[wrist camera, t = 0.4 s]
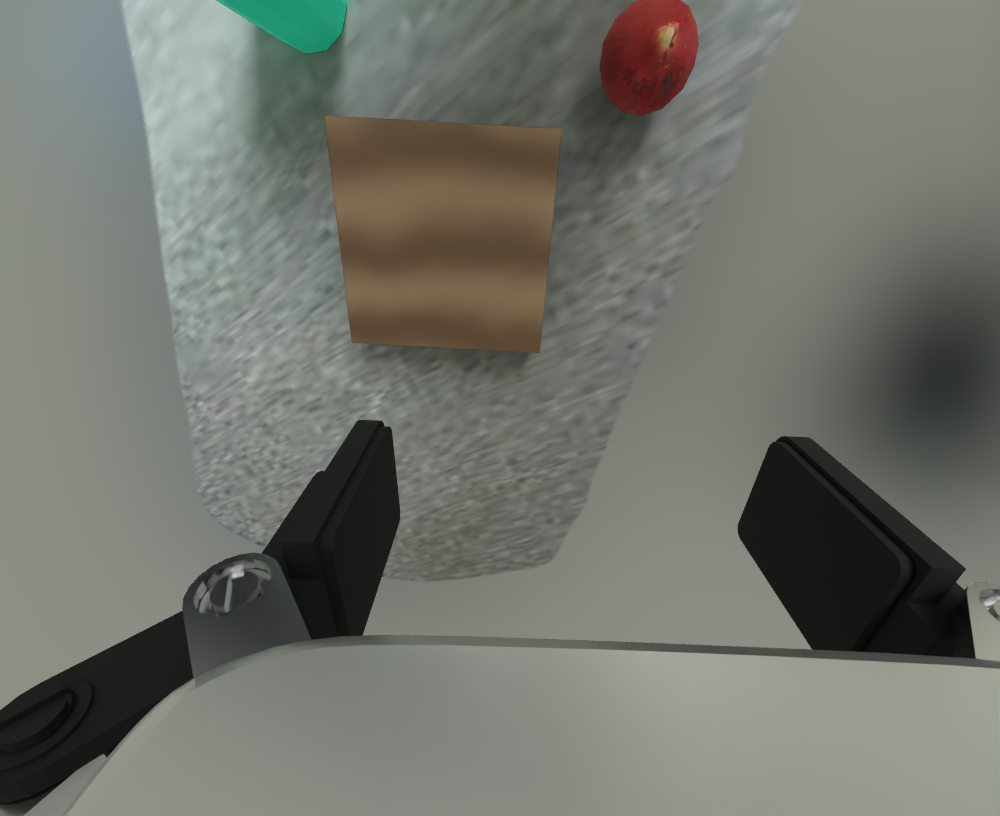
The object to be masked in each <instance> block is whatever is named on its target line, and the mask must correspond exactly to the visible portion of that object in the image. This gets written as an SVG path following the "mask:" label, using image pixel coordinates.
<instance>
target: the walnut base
mask: <svg viewBox="0 0 1000 816" xmlns="http://www.w3.org/2000/svg"><path fill="white" fill-rule="evenodd" d="M324 118H325V126H326V135H327V143H328V151H329V159H330V167H331V175H332V184H333V192H334V200H335V208H336V216H337V224H338V232H339V241H340V249H341V257H342V265H343V273H344V281H345V289H346V298H347V306H348V314H349V322H350V330H351V338H352V343H366V344H384V345H403V346H422V347H440V348H459V349H477V350H496V351H515V352H533V353H540V344H541V334H542V324H543V314H544V304H545V294H546V283H547V273H548V263H549V253H550V243H551V233H552V223H553V213H554V203H555V193H556V183H557V172H558V162H559V152H560V142H561V132H562V129H554V128H537V127H519V126H501V125H483V124H465V123H448V122H430V121H412V120H394V119H377V118H359V117H341V116H324Z"/></svg>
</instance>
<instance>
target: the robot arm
mask: <svg viewBox="0 0 1000 816" xmlns="http://www.w3.org/2000/svg"><path fill="white" fill-rule="evenodd" d="M399 520H400V505H399V495H398V486H397V476H396V466H395V457H394V447H393V437H392V430H391V428H390V427H384V423H383V422H382V421H374V420H358V421H357V422H356V424H355V425H354V427H353V428H352V430H351V431H350V433H349V434H348V436H347V438H346V439H345V441H344V442H343V444H342V445H341V447H340V448H339V450H338V451H337V453H336V455H335V456H334V458H333V459H332V461H331V462H330V464H329V465H328V467H327V468H326V470H325V471H320V472H317V473H316V474H315V476H314V477H313V478H312V480H311V481H310V483H309V484H308V486H307V487H306V488H305V490H304V491H303V493H302V494H301V496H300V497H299V499H298V500H297V502H296V503H295V505H294V506H293V508H292V509H291V511H290V512H289V514H288V515H287V517H286V518H285V520H284V521H283V523H282V524H281V526H280V527H279V529H278V530H277V532H276V533H275V535H274V536H273V537H272V539H271V540H270V542H269V543H268V545H267V546H266V548H265V549H264V551H263V552H262V554H261V553H247V554H240V555H237V556H234V557H230V558H227V559H225V560H223V561H221V562H219V563H217V564H215V565H213V566H211V567H210V568H209V569H207V570H206V571H205V572H203V573H202V574H201V575H199V576H198V577H197V579H196V580H195V581H194V582H193V583H192V584H191V585H190V586H189V588H188V590H187V592H186V594H185V596H184V598H183V606H182V611H181V612H179V613H177V614H175V615H173V616H171V617H169V618H168V619H165V620H163V621H162V622H160V623H158V624H156V625H154V626H152V627H150V628H148V629H146V630H144V631H142V632H140V633H138V634H136V635H134V636H132V637H130V638H128V639H126V640H124V641H122V642H120V643H118V644H116V645H114V646H112V647H110V648H108V649H107V650H104V651H102V652H100V653H98V654H97V655H95V656H93V657H91V658H89V659H87V660H85V661H83V662H81V663H79V664H77V665H75V666H73V667H71V668H69V669H67V670H65V671H63V672H61V673H59V674H57V675H55V676H53V677H51V678H49V679H47V680H45V681H44V682H41V683H40V684H38V685H36V686H34V687H33V688H31V689H30V690H28V691H26V692H25V693H23V694H21V695H19V696H18V697H17V698H15V699H14V700H13V701H12V702H10V703H9V704H8V705H6V706H5V707H4V708H3V709H1V710H0V816H1000V584H995V583H990V582H974V583H973V584H971V585H969V586H968V587H967V588H966V589H965V590H964V589H963V588H961V587H960V586H959V585H958V584H957V583H956V581H957V580H958V578H959V577H960V576H961V575H962V573H963V572H964V571H965V570H966V568H964V567H963V566H962V565H961V564H960V563H958V562H957V561H956V560H955V559H954V558H952V557H951V556H950V555H949V554H948V553H946V552H945V551H944V550H943V549H942V548H941V547H939V546H938V545H937V544H936V543H935V542H933V541H932V540H931V539H930V538H929V537H927V536H926V535H925V534H924V533H923V532H922V531H920V530H919V529H918V528H917V527H916V526H914V525H913V524H912V523H911V522H910V521H909V520H907V519H906V518H905V517H904V516H903V515H901V514H900V513H899V512H898V511H897V510H895V509H894V508H893V507H892V506H891V505H890V504H888V503H887V502H886V501H885V500H883V499H882V498H881V497H880V496H879V495H877V494H876V493H875V492H874V491H873V490H872V489H870V488H869V487H868V486H867V485H866V484H864V483H863V482H862V481H861V480H860V479H858V478H857V477H856V476H855V475H854V474H853V473H851V472H850V471H849V470H848V469H847V468H846V467H844V466H843V465H842V464H841V463H839V462H838V461H837V460H836V459H835V458H834V457H832V456H831V455H830V454H829V453H828V452H827V451H825V450H824V449H823V448H822V447H820V446H819V445H818V444H817V443H816V442H815V441H813V440H812V439H810V438H807V437H787V436H783V437H780V438H779V439H778V440H777V441H776V442H773V443H772V444H771V445H770V446H769V448H768V450H767V453H766V456H765V458H764V461H763V463H762V466H761V468H760V471H759V473H758V476H757V478H756V481H755V483H754V486H753V488H752V491H751V493H750V496H749V498H748V501H747V503H746V506H745V508H744V511H743V513H742V516H741V518H740V521H739V524H738V534H739V537H740V539H741V541H742V542H743V544H744V545H745V547H746V548H747V550H748V551H749V553H750V555H751V556H752V558H753V559H754V561H755V562H756V564H757V565H758V567H759V568H760V570H761V571H762V573H763V575H764V576H765V578H766V579H767V581H768V582H769V584H770V585H771V587H772V588H773V590H774V591H775V593H776V594H777V596H778V598H779V599H780V601H781V602H782V604H783V605H784V607H785V608H786V610H787V611H788V613H789V614H790V616H791V617H792V619H793V621H794V622H795V623H796V625H797V627H798V628H799V629H800V631H801V633H802V634H803V636H804V638H805V639H806V641H807V642H808V644H809V645H810V646H811V648H812V650H808V649H785V648H763V647H762V648H761V647H740V646H716V645H715V646H714V645H691V644H666V643H641V642H616V641H587V640H559V639H558V640H557V639H529V638H501V637H472V636H471V637H470V636H417V635H414V636H413V635H412V636H411V635H369V636H362V635H363V632H364V629H365V626H366V623H367V620H368V617H369V614H370V610H371V608H372V605H373V602H374V599H375V596H376V593H377V589H378V586H379V583H380V580H381V577H382V574H383V571H384V568H385V565H386V562H387V559H388V556H389V553H390V550H391V547H392V544H393V541H394V538H395V534H396V531H397V528H398V525H399Z"/></svg>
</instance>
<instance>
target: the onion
mask: <svg viewBox="0 0 1000 816" xmlns="http://www.w3.org/2000/svg"><path fill="white" fill-rule="evenodd" d="M698 44H699V43H698V35H697V27H696V22H695V20H694V18H693V16H692V13H691V11H690V9H689V7H688V5H686V4H685V3H683V2H682V1H680V0H638V1H636V2H634V3H632V4H631V5H630V6H629V7H628V8H627V9H626V10H625V11H624V12H623V13H622V14H621V15H620V16H619V17H618V18H617V19H616V20H615V21H614V23H613V25H612V27H611V29H610V30H609V32H608V34H607V36H606V38H605V40H604V42H603V48H602V55H601V61H600V72H601V80H602V86H603V88H604V90H605V92H606V94H607V96H608V98H609V100H610V102H612V103H613V104H614V105H615V106H616V107H618V108H619V109H620V110H621V111H623V112H627V113H631V114H636V115H645V114H648V113H651V112H654V111H657V110H660V109H662V108H663V107H664V106H665V105H666V104H668V103H669V102H670V101H671V100H672V99H673V98H674V97H675V96H676V95H677V94H678V93H679V92H680V91H681V90H682V89H683V87H684V85H685V83H686V81H687V79H688V77H689V75H690V73H691V71H692V69H693V67H694V64H695V59H696V54H697V49H698Z"/></svg>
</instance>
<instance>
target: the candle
mask: <svg viewBox="0 0 1000 816" xmlns="http://www.w3.org/2000/svg"><path fill="white" fill-rule="evenodd" d="M216 1H218V2H219V3H221V4H223V5H224V6H226V7H228V8H229V9H231V10H232V11H234V12H236V13H237V14H239V15H240V16H242V17H244V18H245V19H247V20H248V21H250V22H252V23H253V24H255V25H256V26H258V27H260V28H261V29H263V30H264V31H266V32H268V33H269V34H271V35H272V36H274V37H276V38H277V39H279V40H280V41H282V42H284V43H286V44H288V45H289V46H291V47H293V48H295V49H297V50H299V51H301V52H303V53H305V54H306V53H313V52H320V51H326V50H327V49H328V48H329V47H330V46H331V45H332V44H333V43H334V42H335V40H336V39H337V38H338V37H339V36H340V35H341V34H342V30H343V24H344V19H345V14H346V9H347V3H346V0H216Z"/></svg>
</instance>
